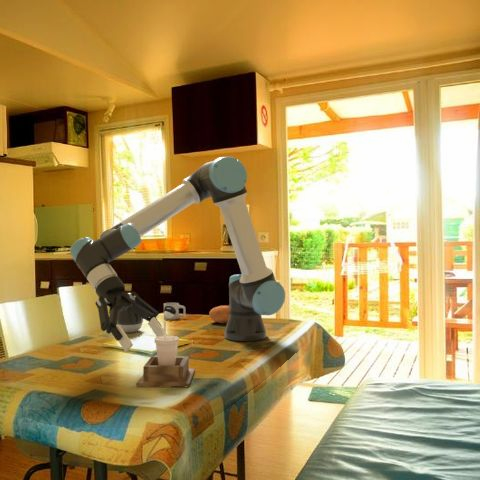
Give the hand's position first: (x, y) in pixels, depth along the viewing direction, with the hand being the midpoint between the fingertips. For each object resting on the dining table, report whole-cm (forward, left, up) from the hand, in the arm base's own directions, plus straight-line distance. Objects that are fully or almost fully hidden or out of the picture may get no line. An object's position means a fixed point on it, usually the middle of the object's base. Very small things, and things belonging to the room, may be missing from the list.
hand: (147, 343), depth 125 cm
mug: (+6, -86, -9) cm, 87 cm away
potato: (-16, -75, -9) cm, 77 cm away
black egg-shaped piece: (+19, -57, -9) cm, 61 cm away
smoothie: (-6, +3, -8) cm, 10 cm away
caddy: (-6, +3, -9) cm, 11 cm away
